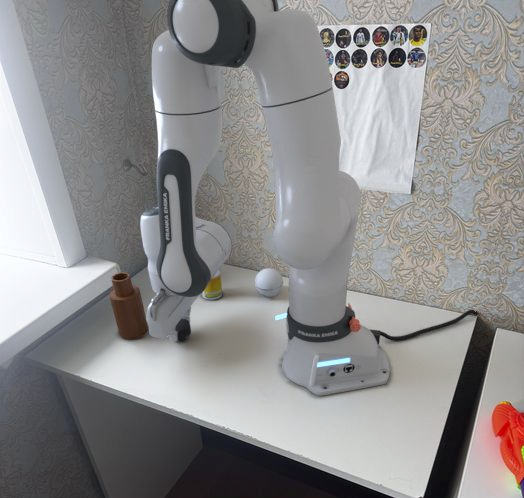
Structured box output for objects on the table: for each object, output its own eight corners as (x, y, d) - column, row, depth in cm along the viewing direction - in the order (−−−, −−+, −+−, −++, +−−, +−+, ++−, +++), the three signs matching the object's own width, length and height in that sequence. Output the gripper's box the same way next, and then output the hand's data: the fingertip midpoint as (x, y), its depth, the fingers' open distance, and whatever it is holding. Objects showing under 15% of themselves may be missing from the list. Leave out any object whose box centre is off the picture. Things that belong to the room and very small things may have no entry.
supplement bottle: (198, 294, 132) (193, 262, 126) (214, 287, 135) (211, 255, 129) (209, 302, 129) (205, 269, 123) (226, 295, 131) (223, 262, 125)
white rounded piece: (249, 296, 130) (247, 271, 126) (267, 284, 135) (266, 260, 130) (280, 308, 125) (279, 283, 121) (297, 295, 130) (297, 270, 125)
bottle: (150, 322, 123) (138, 268, 114) (145, 339, 117) (132, 283, 108) (122, 324, 123) (108, 269, 114) (116, 340, 117) (101, 285, 108)
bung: (193, 332, 119) (190, 318, 116) (191, 344, 115) (188, 330, 112) (172, 333, 119) (170, 319, 116) (170, 345, 115) (167, 331, 112)
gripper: (163, 306, 98) (173, 360, 107) (202, 258, 114) (209, 309, 122) (134, 302, 100) (147, 356, 108) (177, 255, 115) (185, 306, 124)
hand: (180, 331), depth 115 cm, fingers closed on bung, 5 cm apart
